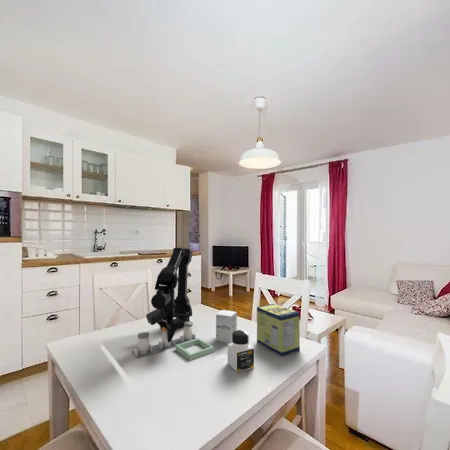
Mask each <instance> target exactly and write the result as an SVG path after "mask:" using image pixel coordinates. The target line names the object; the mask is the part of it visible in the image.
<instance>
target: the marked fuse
mask: <svg viewBox="0 0 450 450" xmlns="http://www.w3.org/2000/svg"><path fill="white" fill-rule="evenodd" d="M161 343H163V347H170V346H172V340H171V342H168V339H167V330H166V329H165V328H164V327H163V328H162V332H161Z"/></svg>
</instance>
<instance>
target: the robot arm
mask: <svg viewBox="0 0 450 450" xmlns="http://www.w3.org/2000/svg"><path fill="white" fill-rule="evenodd" d="M192 258H193V251H192V250H191V248H184V247H180V246H179V247H176V246H175V247H174V248H173V249H172V253H171V256H170V258H169V261H168V262H167V264H166V266H165V267H163V268H162V269H161V271H160V272H159V273H158V275H157V278H156V281H155V286H154V290H155V291H156V293H155V294H154V295H153V296H152V297H151V299H150V303H151V306H152V307H153V309H154V310H152V311H150V312H149V313H146V315H145V317H146V320H147V323H148V324H150V326H153V325H156V324H157V325H158V326H159V328H160V332H161V333H162V328H163V327H164V328H165V329H166V330H167V339H168V342H171V340H172V338H173V339H174V337H175V334H176V332H177V330H179V329H183V327H185V322H187V321H190V319H191V318H190V317H192V316H193V308H192V305H191V303H190V301H191V300H190V298H189V297H188V295H187V294H188V270H189V265H190V263H191V262H192ZM177 271H178V272H177ZM176 288H177V295H176V297H175V294H176V292H175V289H176ZM190 322H191V321H190Z"/></svg>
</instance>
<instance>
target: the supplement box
mask: <svg viewBox="0 0 450 450" xmlns="http://www.w3.org/2000/svg"><path fill="white" fill-rule="evenodd" d="M237 318H238V311H233V310H226V309H221V310H219V312H216V314H215V319H216V320H215V341H216V342H221V343H222V344H225V345H226V346H228V344H230V343H232V334H233V332H234V331H237V330H238V329H237V327H238V326H237V325H238V324H237V323H238V322H237V321H238V320H237Z"/></svg>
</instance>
